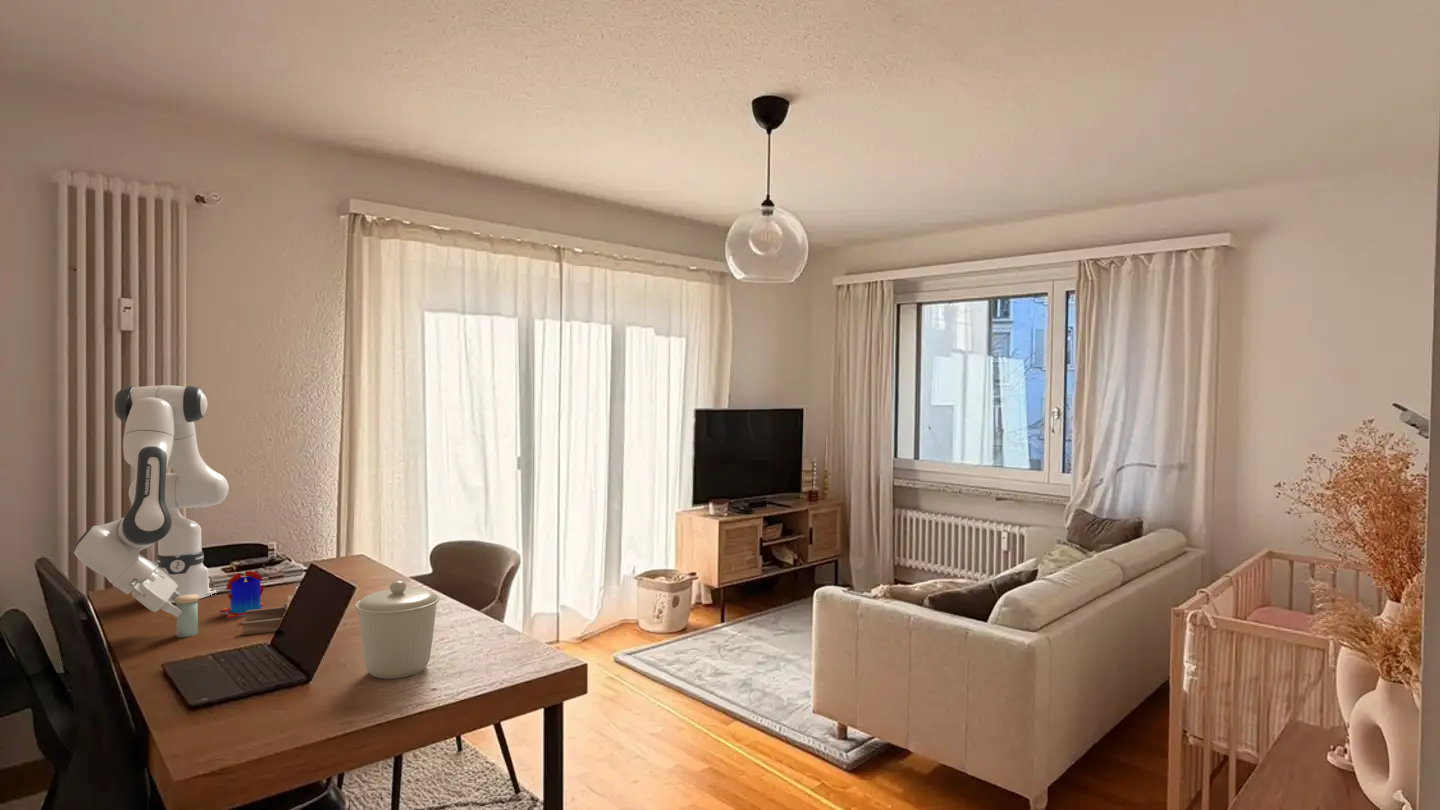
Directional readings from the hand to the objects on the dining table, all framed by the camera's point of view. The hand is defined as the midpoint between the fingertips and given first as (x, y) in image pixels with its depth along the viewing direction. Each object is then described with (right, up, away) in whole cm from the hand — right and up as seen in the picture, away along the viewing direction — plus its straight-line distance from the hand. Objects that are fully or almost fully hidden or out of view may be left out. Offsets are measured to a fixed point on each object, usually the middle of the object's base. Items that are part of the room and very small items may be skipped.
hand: (182, 609), depth 205 cm
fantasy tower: (+3, -7, +22) cm, 23 cm away
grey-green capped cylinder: (+1, -7, +1) cm, 7 cm away
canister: (+67, -8, -25) cm, 72 cm away
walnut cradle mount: (+17, -7, +9) cm, 21 cm away
